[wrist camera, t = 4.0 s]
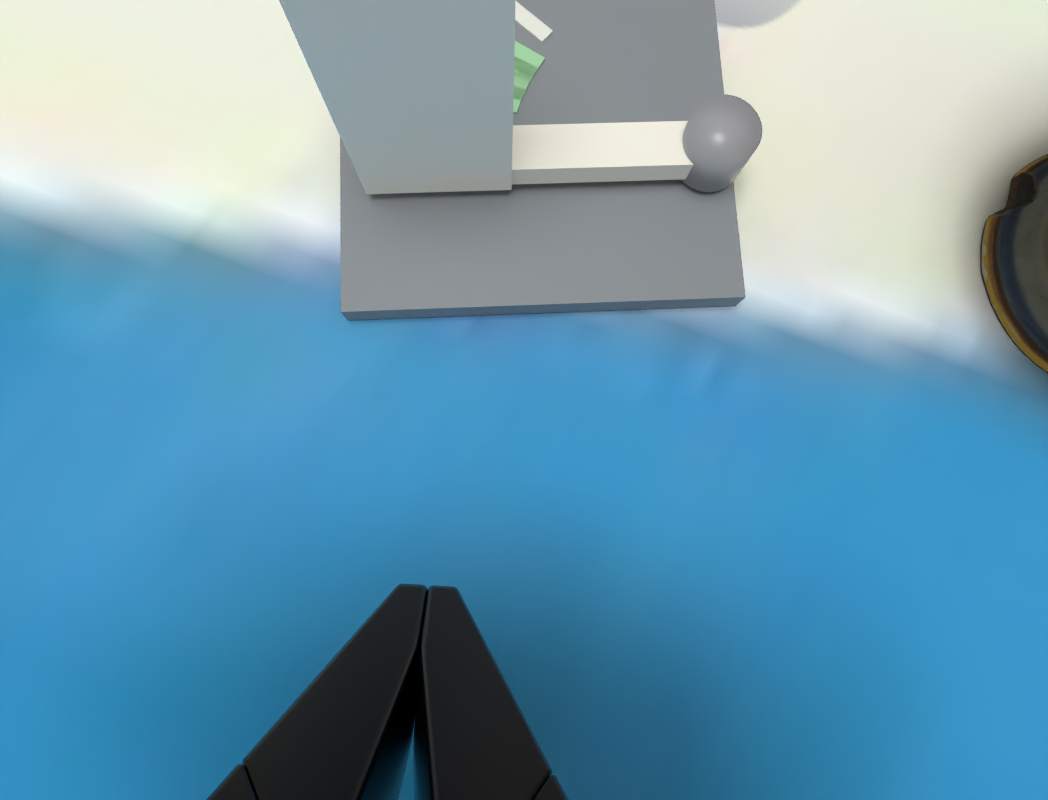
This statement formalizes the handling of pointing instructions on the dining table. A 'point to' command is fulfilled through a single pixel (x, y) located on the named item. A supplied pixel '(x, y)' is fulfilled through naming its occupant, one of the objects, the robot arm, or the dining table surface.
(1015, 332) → the grey ornate vase
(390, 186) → the dial crank handle
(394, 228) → the dial board
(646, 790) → the dining table surface
